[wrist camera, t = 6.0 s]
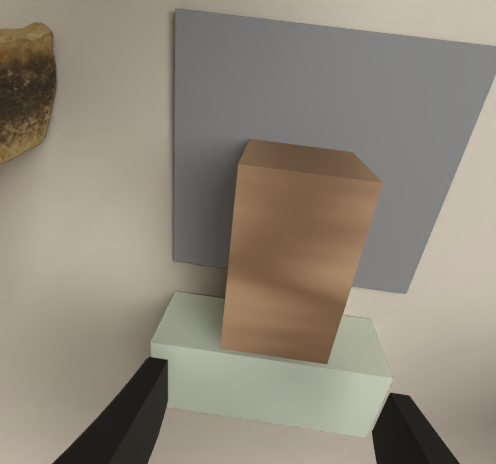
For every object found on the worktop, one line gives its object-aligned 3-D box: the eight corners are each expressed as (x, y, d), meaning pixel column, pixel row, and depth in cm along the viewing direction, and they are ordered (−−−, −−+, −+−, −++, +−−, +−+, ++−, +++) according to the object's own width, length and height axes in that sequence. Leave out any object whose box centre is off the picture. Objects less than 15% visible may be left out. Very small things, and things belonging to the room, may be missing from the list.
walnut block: (315, 297, 15) (352, 151, 12) (327, 364, 12) (383, 183, 9) (233, 285, 16) (249, 138, 12) (220, 348, 12) (238, 163, 9)
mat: (501, 48, 11) (506, 47, 10) (403, 289, 15) (406, 293, 15) (177, 10, 11) (175, 8, 11) (175, 257, 15) (173, 261, 15)
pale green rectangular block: (370, 319, 16) (393, 378, 13) (350, 374, 18) (366, 438, 15) (174, 291, 16) (150, 342, 13) (174, 348, 18) (152, 405, 15)
